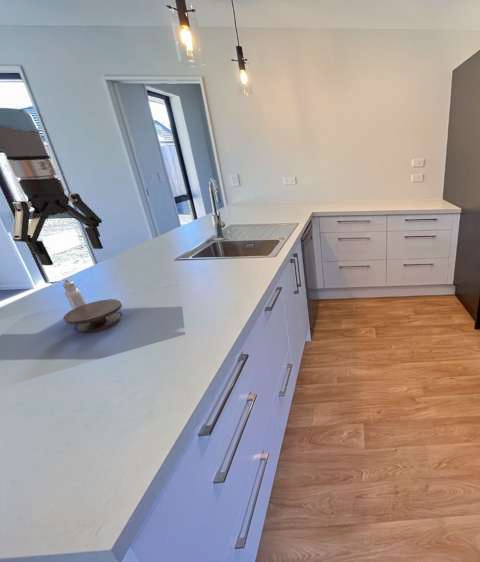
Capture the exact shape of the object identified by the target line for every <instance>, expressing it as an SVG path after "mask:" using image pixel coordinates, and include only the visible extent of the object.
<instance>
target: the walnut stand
mask: <svg viewBox="0 0 480 562" xmlns="http://www.w3.org/2000/svg"><path fill="white" fill-rule="evenodd" d="M122 308H123V304H122V302H121V301H120V300H119V299H112V298H110V299H102V300H96V301H92V302H89V303H86V304H85V305H82V306H80V307H78V308H75V309H71V310H70V311H68V312H67V313H66V314H65V315H64V316H63V320H64V322H65V323H66V324H68V325H76V329H77V331H78V333H80V334H92V333H97V332H98V333H99V332H102V331H104V330H107V329H109V328H112V327H113V326H115V325H116V324H118V323H119V322H120V321H121V320H122V317H121V315H120V313H118V312H119V311H120V310H121V309H122Z"/></svg>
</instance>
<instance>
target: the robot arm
mask: <svg viewBox="0 0 480 562" xmlns="http://www.w3.org/2000/svg"><path fill="white" fill-rule="evenodd" d="M0 154H4V155H5V157H6V160H7V161H8V163H9V166H10V168H11V170H12V173H13V174H14V176H15V178H18V179H19V180H18V183H19V186H20V188H21V190H22V192H23V194H24V195H25V196H26V198H27V200H26V201H25V200H14V201H13V202H12V205H13V208H14V210H15V212H14V222H13V235H12V240H13V241H14V242H19V243H20V242H21V243H26V245H27V247H28V249H29V250H30V253H31V254H32V255H36V256H37V259H38V261H39V263H40V264H41V266H53V265H54V262H53V260H52V258H51V256H50V254H49V252H48V250H47V249H46V248H47V247H46V246H45V244H44V242H43V240H38V239H39V237H40V234H41V231H42V229H43V227H44V225H45V222H46V220H47V219H48V218H49V217H50V216H57V215H59V214H61V215H62V214H66V215H68V216H70V217H71V218H73V219H74V220H76V221H78V222H80V223H81V224H82V225H85V227H84V231H85V233H86V235H87V237H88V240H89V242H90V244H91V247H92V249H94V250H102V249H104V246H103V243H102V241H101V239H100V237H101V233H100V231H99V229H98V227H99V226H100V224H102V223H103V220H102V219H101V218H100V216H99V215H97V213H95V212H94V211H93V210H92V209H91V207H89V206H88V205H87V203H86V202H84V200H83V199H82V197H81V196H80V194H79V193H75V192H73V193H72V192H71V193H67V194H66V193H65V191H66V190H65V187H64V185H63V182H62V181H61V178H59V177H57V176H58V171H57V169H56V166H55V164H54V162H53V160H52V157H51V156H50V153H49V151H48V149H47V147H46V144H45V142H44V139H43V137H42V134H41V132H40V128H39V127H38V125H37V123H36V121H35V119H34V117H33V116H32V114H31V113H30V112H29V111H27V110H26V109H21V108H20V109H19V108H15V107H14V108H12V107H0ZM69 203H71V204H73V206H74V207H73V206H71V205H70V204H69ZM31 209H33V211H32V213H31V211H30V210H31ZM30 215H31V216H32V217H31V220H30Z"/></svg>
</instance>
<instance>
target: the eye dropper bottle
mask: <svg viewBox="0 0 480 562" xmlns="http://www.w3.org/2000/svg"><path fill="white" fill-rule="evenodd" d="M62 287H63V288H64V290H65V292H64V295H65V298H66V299H67V301H68V303H69V305H70V307H71V310H73V309H75V308H78V307H80V306H82V305H85V304H87V302H86V301H85V298H84V297H83V294H82V292H81V290H80V289H78V288H77V287H76V285H75V282H73V281H70V280H69V279H68V278H65V279H64V283H63V284H62Z"/></svg>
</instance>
